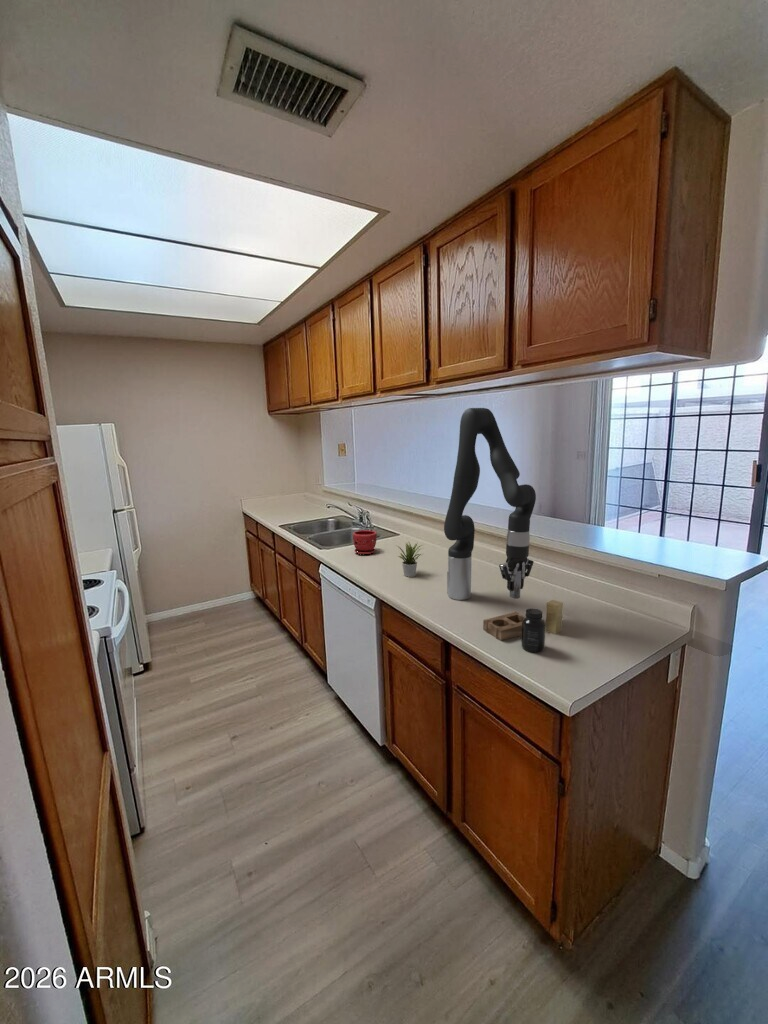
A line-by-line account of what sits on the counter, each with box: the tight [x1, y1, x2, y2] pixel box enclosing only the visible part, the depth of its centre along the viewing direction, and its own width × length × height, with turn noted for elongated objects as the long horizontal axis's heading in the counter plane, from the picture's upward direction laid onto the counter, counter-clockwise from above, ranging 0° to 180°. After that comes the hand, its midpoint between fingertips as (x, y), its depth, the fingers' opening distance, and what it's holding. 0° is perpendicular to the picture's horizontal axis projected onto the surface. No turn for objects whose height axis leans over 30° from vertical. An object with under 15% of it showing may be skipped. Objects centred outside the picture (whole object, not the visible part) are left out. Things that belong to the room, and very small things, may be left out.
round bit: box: [509, 570, 522, 600], centre depth 150 cm, size 4×4×10 cm
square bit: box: [545, 599, 564, 635], centre depth 142 cm, size 4×4×10 cm
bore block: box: [482, 611, 526, 642], centre depth 143 cm, size 9×14×4 cm, turn 115°
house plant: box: [396, 540, 425, 578], centre depth 199 cm, size 14×14×16 cm
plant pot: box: [352, 529, 378, 555], centre depth 238 cm, size 13×13×12 cm
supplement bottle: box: [520, 608, 546, 653], centre depth 131 cm, size 7×7×12 cm
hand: (515, 589), depth 151 cm, fingers closed on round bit, 3 cm apart
